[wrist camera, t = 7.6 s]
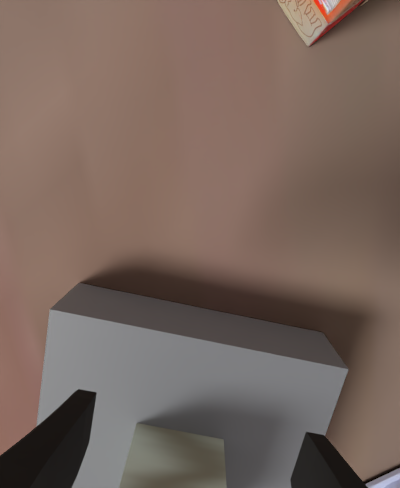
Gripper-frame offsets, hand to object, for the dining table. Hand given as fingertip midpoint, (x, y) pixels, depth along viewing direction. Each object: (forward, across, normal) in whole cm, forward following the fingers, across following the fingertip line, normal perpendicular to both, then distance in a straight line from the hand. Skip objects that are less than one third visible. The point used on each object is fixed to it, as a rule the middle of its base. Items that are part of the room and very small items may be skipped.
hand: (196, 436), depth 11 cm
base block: (+10, 0, +8) cm, 13 cm away
